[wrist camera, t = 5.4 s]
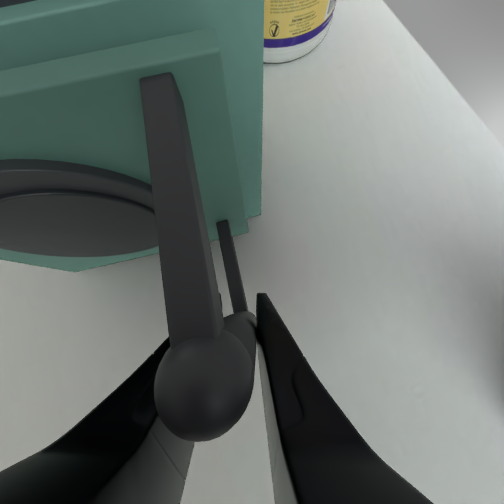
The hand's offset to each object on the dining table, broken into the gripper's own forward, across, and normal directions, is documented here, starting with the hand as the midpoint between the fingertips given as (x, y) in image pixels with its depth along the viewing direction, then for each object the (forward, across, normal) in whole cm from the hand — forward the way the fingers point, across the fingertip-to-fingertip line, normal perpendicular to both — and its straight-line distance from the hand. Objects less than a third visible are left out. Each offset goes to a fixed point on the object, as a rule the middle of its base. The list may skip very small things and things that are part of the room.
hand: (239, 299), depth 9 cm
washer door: (+5, +6, +4) cm, 9 cm away
